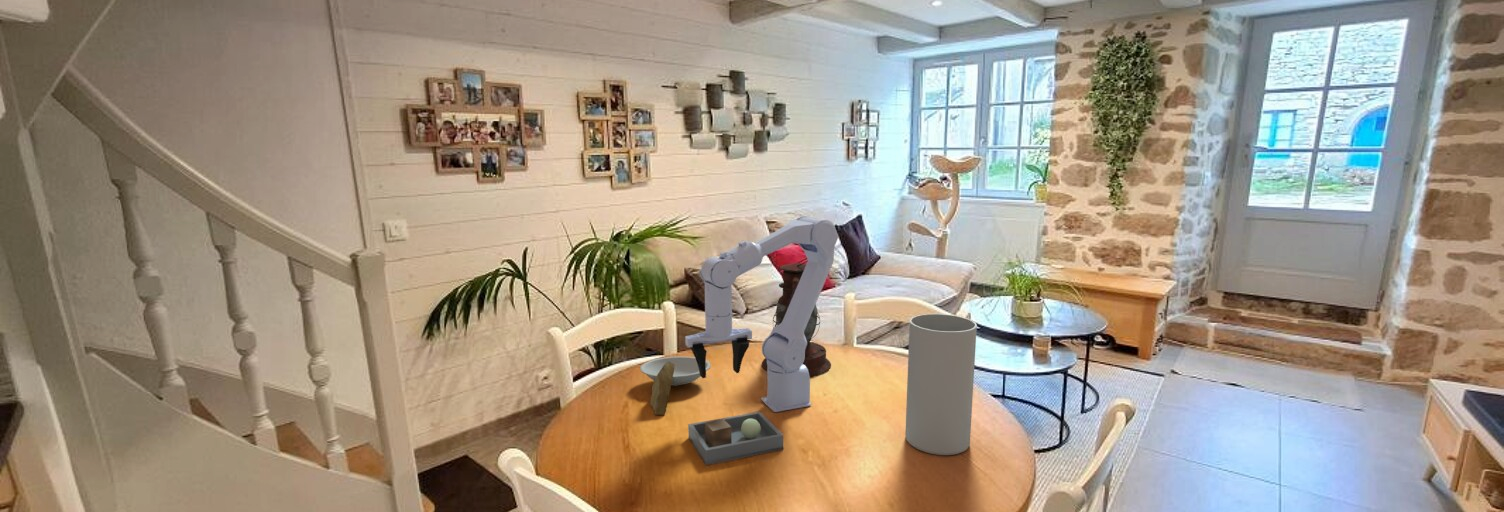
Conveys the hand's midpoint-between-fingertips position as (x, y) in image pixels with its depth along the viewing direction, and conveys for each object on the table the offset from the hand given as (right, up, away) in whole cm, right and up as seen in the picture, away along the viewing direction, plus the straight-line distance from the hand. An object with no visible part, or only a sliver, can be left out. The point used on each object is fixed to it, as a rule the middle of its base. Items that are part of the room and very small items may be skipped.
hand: (719, 374), depth 134 cm
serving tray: (+4, -12, -9) cm, 16 cm away
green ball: (+7, -11, -8) cm, 16 cm away
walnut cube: (0, -12, -11) cm, 16 cm away
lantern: (+19, -4, +35) cm, 40 cm away
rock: (-15, -9, +9) cm, 19 cm away
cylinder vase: (+44, -12, -9) cm, 47 cm away
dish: (-12, -7, +22) cm, 26 cm away
